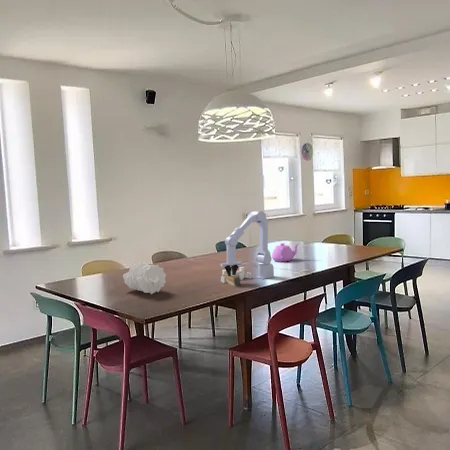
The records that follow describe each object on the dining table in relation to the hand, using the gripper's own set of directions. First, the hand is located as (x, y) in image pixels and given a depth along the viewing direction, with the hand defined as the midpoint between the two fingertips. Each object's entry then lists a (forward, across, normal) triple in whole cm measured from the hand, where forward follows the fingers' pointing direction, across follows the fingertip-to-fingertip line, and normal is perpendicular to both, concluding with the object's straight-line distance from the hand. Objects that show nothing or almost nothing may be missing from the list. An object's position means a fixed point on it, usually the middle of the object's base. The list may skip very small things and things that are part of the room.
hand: (231, 277), depth 293 cm
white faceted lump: (+6, +50, -16) cm, 53 cm away
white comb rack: (+3, -8, -8) cm, 11 cm away
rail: (+4, 0, 0) cm, 4 cm away
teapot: (+1, -75, -43) cm, 87 cm away
